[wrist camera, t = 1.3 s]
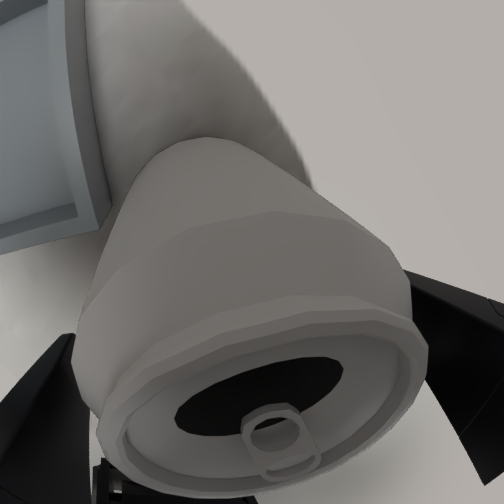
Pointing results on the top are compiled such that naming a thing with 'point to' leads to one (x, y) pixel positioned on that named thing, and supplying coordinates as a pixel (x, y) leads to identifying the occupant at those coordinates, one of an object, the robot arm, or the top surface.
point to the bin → (47, 126)
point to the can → (241, 329)
